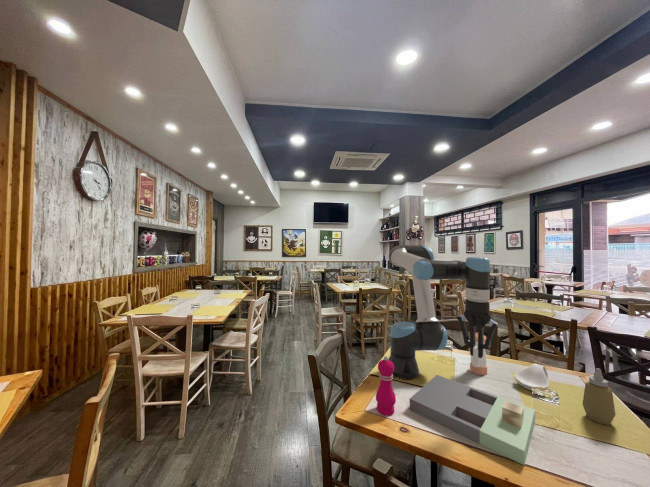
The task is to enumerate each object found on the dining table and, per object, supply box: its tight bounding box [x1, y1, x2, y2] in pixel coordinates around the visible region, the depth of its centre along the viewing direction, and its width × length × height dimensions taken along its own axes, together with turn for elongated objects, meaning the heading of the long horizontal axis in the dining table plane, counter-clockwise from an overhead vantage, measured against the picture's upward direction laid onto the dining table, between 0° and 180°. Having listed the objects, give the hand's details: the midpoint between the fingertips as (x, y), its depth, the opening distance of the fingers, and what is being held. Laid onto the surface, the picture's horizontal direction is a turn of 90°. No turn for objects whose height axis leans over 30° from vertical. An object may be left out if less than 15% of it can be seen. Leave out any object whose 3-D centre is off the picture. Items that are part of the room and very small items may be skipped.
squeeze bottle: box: [582, 367, 617, 426], centre depth 91 cm, size 8×8×18 cm
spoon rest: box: [514, 363, 550, 391], centre depth 115 cm, size 24×12×7 cm, turn 129°
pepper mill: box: [375, 355, 397, 416], centre depth 94 cm, size 7×7×20 cm
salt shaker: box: [469, 332, 488, 376], centre depth 125 cm, size 7×7×19 cm
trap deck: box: [409, 374, 536, 466], centre depth 92 cm, size 34×26×4 cm
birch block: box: [502, 401, 524, 428], centre depth 83 cm, size 5×5×4 cm
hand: (476, 365), depth 91 cm, fingers closed
